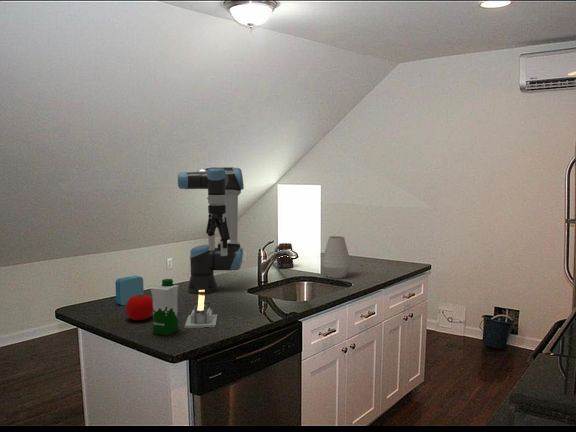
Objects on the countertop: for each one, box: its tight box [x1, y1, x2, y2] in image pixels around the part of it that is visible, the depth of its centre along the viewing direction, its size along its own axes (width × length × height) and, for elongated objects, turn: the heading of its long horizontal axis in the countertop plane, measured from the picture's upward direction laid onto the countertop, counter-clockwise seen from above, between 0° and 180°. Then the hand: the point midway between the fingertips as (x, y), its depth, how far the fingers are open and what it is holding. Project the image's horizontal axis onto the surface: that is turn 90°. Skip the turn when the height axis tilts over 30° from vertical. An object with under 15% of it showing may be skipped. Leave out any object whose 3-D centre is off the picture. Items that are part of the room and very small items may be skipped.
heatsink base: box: [184, 300, 218, 329], centre depth 201 cm, size 14×12×8 cm
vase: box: [320, 235, 352, 279], centre depth 285 cm, size 18×17×23 cm
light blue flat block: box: [115, 275, 145, 306], centre depth 230 cm, size 12×4×12 cm, turn 139°
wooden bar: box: [197, 290, 206, 313], centre depth 200 cm, size 11×3×2 cm
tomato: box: [125, 294, 153, 321], centre depth 205 cm, size 11×12×10 cm
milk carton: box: [149, 278, 179, 337], centre depth 188 cm, size 9×9×20 cm
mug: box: [274, 242, 294, 270], centre depth 309 cm, size 16×11×15 cm
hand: (217, 252), depth 214 cm, fingers open, 13 cm apart
